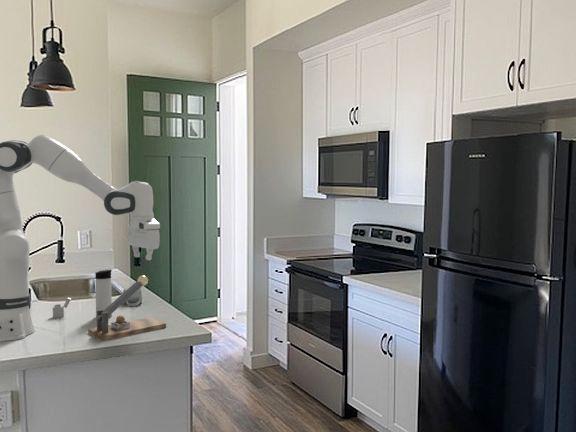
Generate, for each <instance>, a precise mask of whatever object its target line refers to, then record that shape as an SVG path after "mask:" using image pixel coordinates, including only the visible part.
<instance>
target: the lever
mask: <svg viewBox="0 0 576 432" xmlns="http://www.w3.org/2000/svg"><path fill="white" fill-rule="evenodd" d="M148 283H149V278H148V277H147V276H146V275H140V276H138V278H137V280H136V281H135V282H134V283H133V284H131V286H130V287H128V289H127V290H126V291H125V292H124V293H123V292H122V293H121V294H120V296H118V297H117V298H116V299H115V300H114V301H113V302H112V304H110V305H109V306H108V307H107V308H106V309H105V310H104V311H103V312H108V316H110V315H111V314H112V315H113V313H115V311H116V310H117V309H118V308H120V307H121V306H122V305H123V304H125V303H124V302H125V301H126V300H127V299H128V298H130V297H131V296H132V295H133V294H134V293H135V292H136V291H137V290H138V289H140V288H141V289H142V287H143V286H144V287H145V286H146V285H147V284H148ZM103 312H101V313H103ZM101 313H100V314H99V315H98V316H97V318H96V320H97V319H98V320H99V321H101V322H102V314H101Z"/></svg>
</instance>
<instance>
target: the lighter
mask: <svg viewBox="0 0 576 432" xmlns="http://www.w3.org/2000/svg"><path fill="white" fill-rule="evenodd" d="M71 301H72V298H71V297H67V299H66V300H65V303H64V304H63V305H61V304H60V303H59V304H54V306H52V318H53V319H55V318H56V319H57V318H64V317H65V314H64V313H65V311H64V308H65V309H67V308H68V306H69V304H70V302H71Z"/></svg>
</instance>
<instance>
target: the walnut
mask: <svg viewBox="0 0 576 432" xmlns="http://www.w3.org/2000/svg"><path fill="white" fill-rule="evenodd" d="M115 319H116V320H115V321H116V322H117V323H118V324H122V323H124V321H126V317H124V316H123V315H118V316H117V317H116V318H115Z"/></svg>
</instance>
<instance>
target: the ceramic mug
mask: <svg viewBox="0 0 576 432" xmlns="http://www.w3.org/2000/svg"><path fill="white" fill-rule="evenodd" d="M128 288H129V287H128ZM128 288H123V290H122V294H123V293H124V292H125V291H126V290H127V289H128ZM142 302H143V293H142V287H141V288H140V289H138V290H137V291H136V292H135V293H134V294H133V295H132V296H131V297H130V298H128V299H127V300H126V301H125V302H124V303H123V304H126V305H127V307H137V306H139V304H142Z"/></svg>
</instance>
